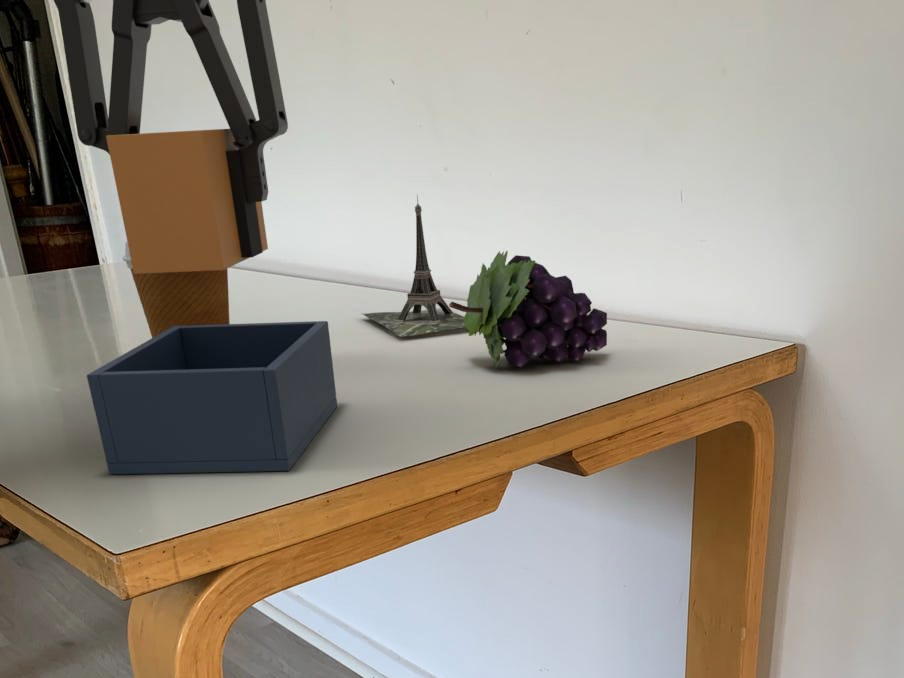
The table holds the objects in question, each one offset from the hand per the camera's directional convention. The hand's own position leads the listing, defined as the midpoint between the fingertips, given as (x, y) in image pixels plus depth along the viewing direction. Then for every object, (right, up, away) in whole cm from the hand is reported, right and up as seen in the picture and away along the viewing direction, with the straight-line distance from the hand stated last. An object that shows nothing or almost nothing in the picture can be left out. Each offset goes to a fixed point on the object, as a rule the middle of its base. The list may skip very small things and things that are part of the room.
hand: (205, 256), depth 68 cm
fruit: (+24, -1, +24) cm, 34 cm away
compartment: (0, -11, +6) cm, 13 cm away
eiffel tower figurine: (+12, +9, +43) cm, 46 cm away
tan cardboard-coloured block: (0, 0, 0) cm, 0 cm away
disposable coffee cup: (-8, -1, +26) cm, 27 cm away
